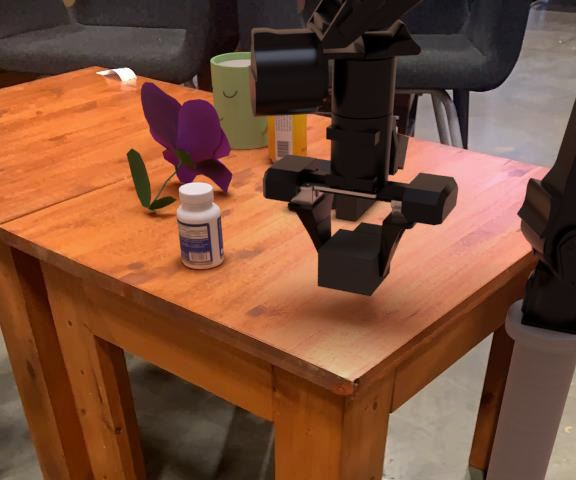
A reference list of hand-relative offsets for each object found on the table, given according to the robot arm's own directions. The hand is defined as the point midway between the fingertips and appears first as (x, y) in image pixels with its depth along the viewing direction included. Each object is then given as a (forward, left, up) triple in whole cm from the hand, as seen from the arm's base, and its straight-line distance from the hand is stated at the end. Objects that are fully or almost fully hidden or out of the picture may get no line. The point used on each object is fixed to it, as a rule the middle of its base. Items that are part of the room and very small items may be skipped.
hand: (354, 270), depth 81 cm
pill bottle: (+22, -5, -5) cm, 23 cm away
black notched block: (+14, -29, -5) cm, 33 cm away
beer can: (+28, -43, -5) cm, 52 cm away
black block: (0, -1, -1) cm, 2 cm away
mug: (+38, -49, -5) cm, 62 cm away
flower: (+35, -21, -5) cm, 41 cm away
